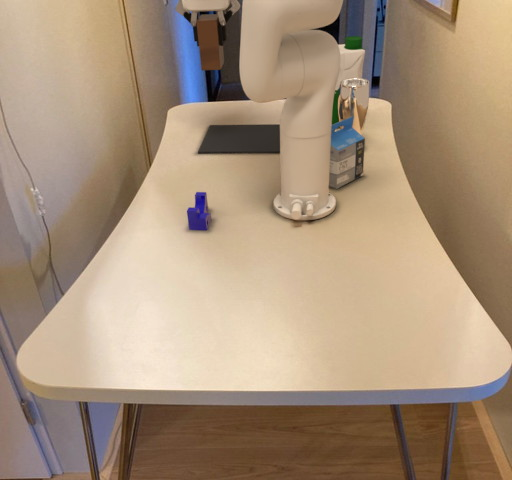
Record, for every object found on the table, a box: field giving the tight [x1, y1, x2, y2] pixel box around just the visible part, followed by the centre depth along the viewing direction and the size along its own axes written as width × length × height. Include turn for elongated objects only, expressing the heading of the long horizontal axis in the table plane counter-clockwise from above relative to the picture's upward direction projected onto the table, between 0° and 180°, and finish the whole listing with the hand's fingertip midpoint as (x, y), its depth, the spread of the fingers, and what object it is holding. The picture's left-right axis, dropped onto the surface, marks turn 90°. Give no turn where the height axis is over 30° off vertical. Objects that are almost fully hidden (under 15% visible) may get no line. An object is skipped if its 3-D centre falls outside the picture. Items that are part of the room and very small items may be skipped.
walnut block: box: [197, 13, 225, 71], centre depth 124 cm, size 6×4×10 cm
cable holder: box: [186, 191, 212, 231], centre depth 108 cm, size 8×4×4 cm, turn 171°
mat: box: [197, 123, 280, 155], centre depth 140 cm, size 18×22×1 cm
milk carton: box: [332, 35, 366, 129], centre depth 139 cm, size 9×9×20 cm
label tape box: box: [329, 116, 366, 190], centre depth 116 cm, size 9×4×12 cm, turn 132°
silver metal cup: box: [338, 77, 370, 137], centre depth 128 cm, size 7×7×15 cm
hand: (211, 43), depth 124 cm, fingers closed on walnut block, 4 cm apart
